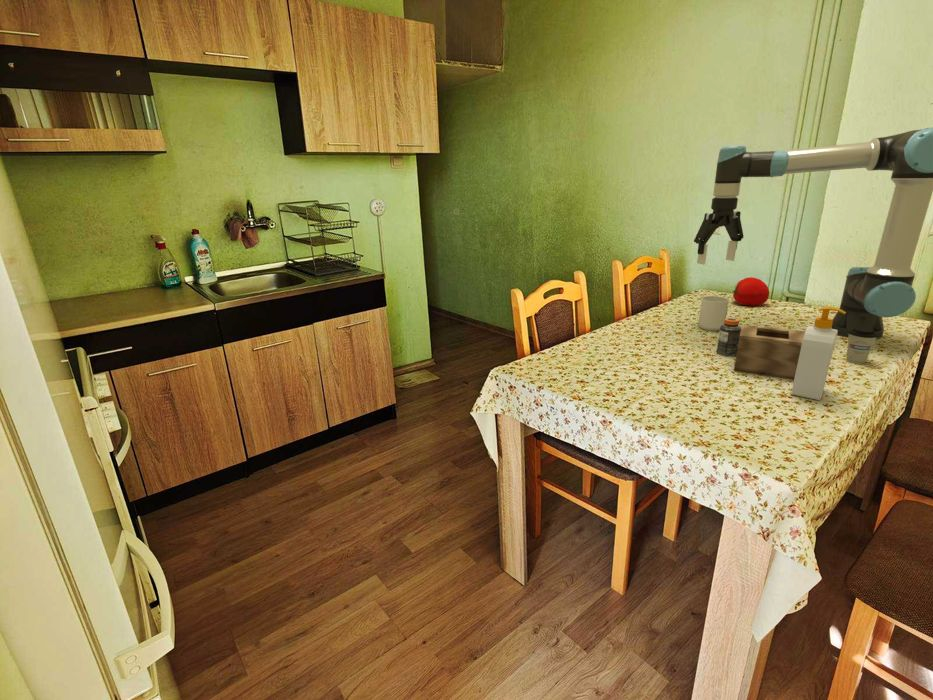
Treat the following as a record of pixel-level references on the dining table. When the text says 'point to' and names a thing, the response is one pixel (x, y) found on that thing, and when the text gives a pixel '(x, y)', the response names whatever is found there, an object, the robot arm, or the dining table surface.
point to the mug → (713, 312)
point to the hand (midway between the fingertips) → (715, 262)
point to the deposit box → (768, 351)
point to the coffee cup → (860, 344)
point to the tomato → (751, 292)
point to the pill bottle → (729, 337)
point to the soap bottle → (815, 357)
